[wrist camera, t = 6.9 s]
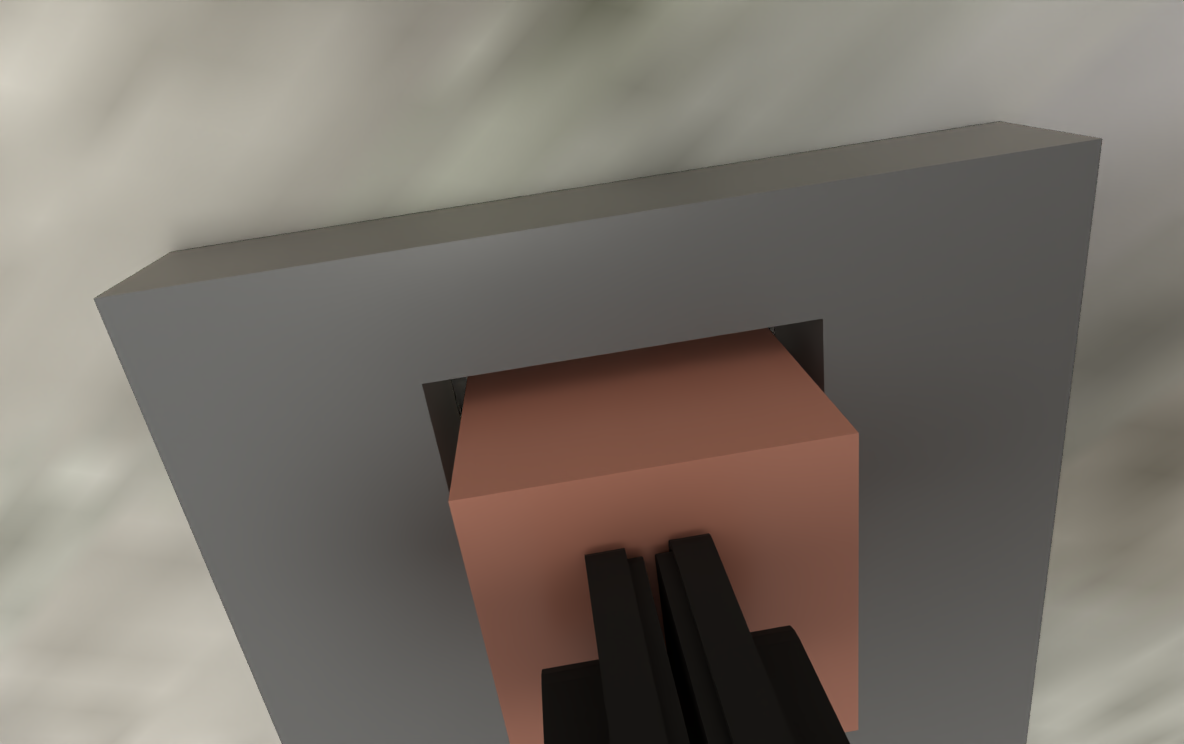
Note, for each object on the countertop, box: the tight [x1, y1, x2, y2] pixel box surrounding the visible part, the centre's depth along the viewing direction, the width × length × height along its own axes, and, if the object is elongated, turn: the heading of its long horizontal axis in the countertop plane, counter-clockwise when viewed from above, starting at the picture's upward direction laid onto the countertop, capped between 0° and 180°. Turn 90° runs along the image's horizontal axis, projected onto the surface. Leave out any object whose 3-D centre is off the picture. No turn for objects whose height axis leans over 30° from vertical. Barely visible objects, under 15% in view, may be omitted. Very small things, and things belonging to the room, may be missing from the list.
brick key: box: [448, 328, 859, 744], centre depth 12 cm, size 5×5×4 cm
